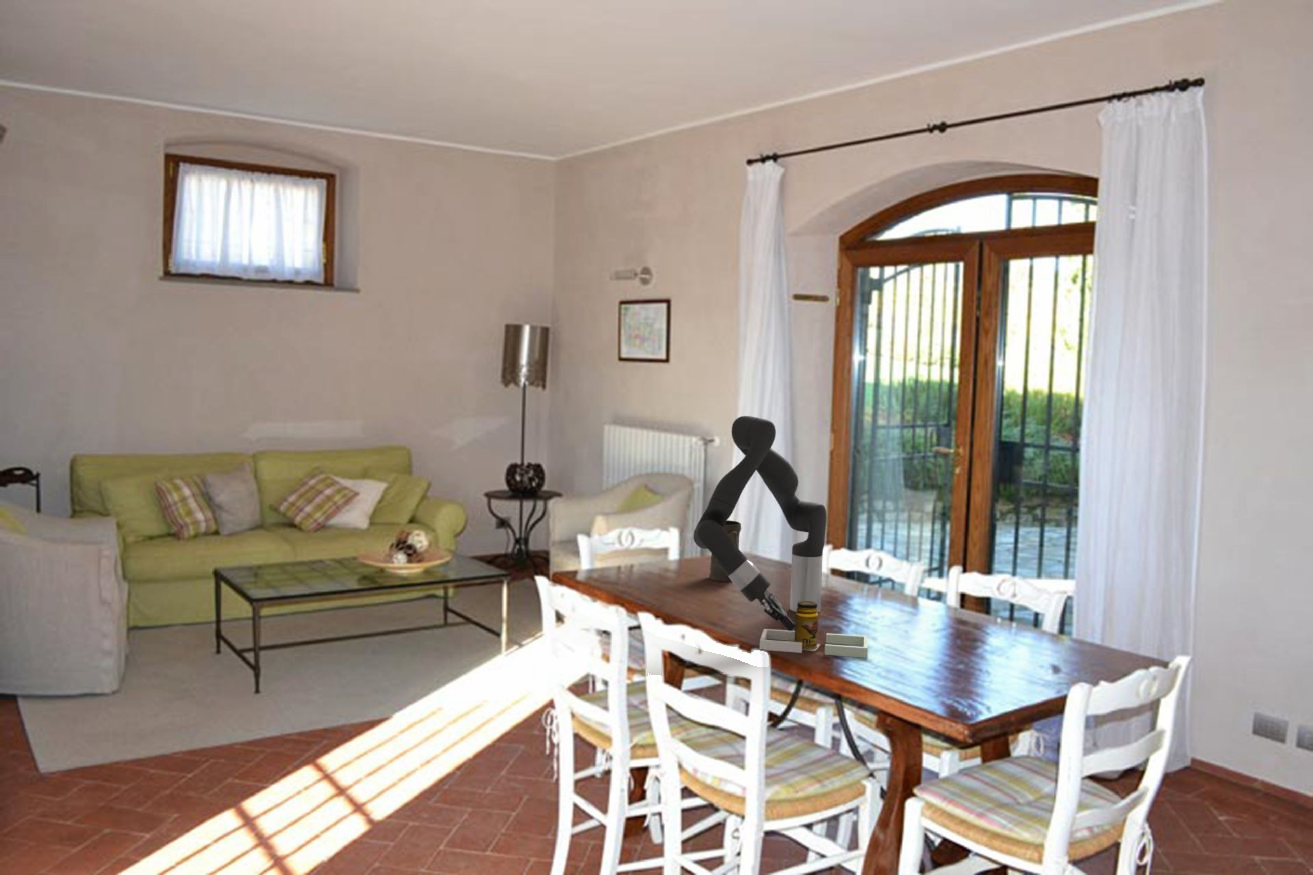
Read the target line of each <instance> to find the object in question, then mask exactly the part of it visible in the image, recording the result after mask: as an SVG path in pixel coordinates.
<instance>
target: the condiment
mask: <svg viewBox="0 0 1313 875" xmlns="http://www.w3.org/2000/svg"><path fill="white" fill-rule="evenodd" d="M797 606H798V607H797V612H795V617H794V618H795V619H794V620H795V622H794V623H795V628H794V631H795V641H794V640H790V641H789V640H788V641H789V642H802V651H810V652H816V651H817V650H818V649H819V647H820V646H821V643H818V630H819V628H818V626H819V614H818V613H819V612H817V604H816V603H815V602H811V601H800V602H798V604H797Z"/></svg>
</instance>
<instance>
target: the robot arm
mask: <svg viewBox="0 0 1313 875" xmlns="http://www.w3.org/2000/svg"><path fill="white" fill-rule="evenodd" d="M776 434H777V431H776V426H775V424H774V422H772V421H771V420H769V419H765V418H760V417H756V416H750V415H743V416H739V417H737V418H735V420H734V421H733V422H732V426H731V438H732V440H733V442H734V445H735V446H736V447H737V448H738V449H739V450H740V451H741V453H742V454H743V455H744V457H743V458H742V460H740V462H739V463H738V464H737V465H736V466H734V467H733V468H732V469H730V470H729V471H728V472H727V473H726V474H725V475H724V476H723V477H722V478H721V479H720V480H719V482H718V483H717V485H716V486H715V489H714V491H713V493H712V495H711V497H710V498H709V501H708V504H707V507H706V509H705V510H704V513H703V514H702V515H701V517H700V519H699V521H698V522H697V524H696V526H695V528H694V532H693V541H694V543H695V545H696V546H697V547H699V548H701V549H702V550H703V549H704V550H708V551H709V552H710V553H711V554H713V555H714V557H715V558H716V562H717V564H718V565H719V567H720V568H721V569H722V570H723V571H724V572H725V573H726V574H727V576H728V577H729V578H730V579H731V581H732V582H731V583H732V584H733V585H734V586H735V587H736V588H737V589H738V590H739V592H740V593H742V595H743V596H744V598H746V600H748V601H749V602H750V603H751V602H754V601H755V600H758V601H759V603H760V604H759V605H760V607H762V609H763V611H764V613H766V615H768V616H770V617H771V618H772V619H773V620H774V621H776V622H780V623H781V624H782V625H783V627H785V628H786V630H788V631H793V630H795V622H794V621H793V620H792V619H791V618H790V617H789V616H788V613H787V612H786V608H785V607H784V605H783V604H782V603H781V601H780V600H779V599H778V597H777V595H775V594H774V593H772V592H770V591H769V590H768V589H769V588H770V586H771V581H770V580H769V579H768V578H767V577H766V576H765V574H763V573H762V571H760V569H759V568H757V566H756V565H755V564H754V563H753V562H751V561H750V560H749V559H748V558H747V557H746V556H745V554H744V553H743V552H742V550H740V548H739V549H738V548H737V547H736V546H735V545H734V543H733V541H732V540H731V538H730V537H729V535H728V534H727V533H726V531H725V530H724V529H723V527H724V525H725V523H726V521H727V520H729V519H730V517H731V515H732V514H733V512H734V511H735V508H736V506H737V503H738V501H739V499H740V498H741V495H742V493H743V492H744V489H745V488H746V486H747V484H748V482H749V481H750V480H751V478H752V477H753V475H754V474H755V473H756V472H757V474H759V476H760V478H761V479H762V481H763V483H764V484H765V486H766V487H767V488H768V490H769V491H770V494H771V495H773V497H774V498H775V501H776V502H777V504H778V506H779V507H780V509H781V511H782V514H783V515H784V517H785V520H786V522H787V524H788V525H789V527H790V528H791V529H793V530H794V531H796V532H802V533H808V534H807V539H806V540H804V541H800V542H797V543H794V544H793V545H792V547H791V548H792V549H791V572H790V573H791V574H790V575H791V577H790V595H789V596H790V598H789V599H790V601H789V602H790V603H789V610H790V611H792V612H793V613H794V612H795V613H796V612H797V607H798V606H797V604H798V602H800V601H811V602H815V603H816V604H817V613H819V612H821V605H822V582H823V581H822V580H823V579H822V578H823V553H824V547H825V540H826V530H827V519H828V517H827V514H828V513H827V509H826V507H825V505H824V504H823V503H819V502H813V501H805V500H801V499H799V497H797V496H796V493H797V490H798V487H799V476H798V474H797V472H796V471H795V470H794V468H793V466H792V465H791V463H790V462H789V461H788V459H786V458H785V457H784V456H783V455H781V454H780V453H779V452H778V451H776V450H774V448H772V447H773V444H774V442H775V440H776Z"/></svg>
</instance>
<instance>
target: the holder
mask: <svg viewBox="0 0 1313 875" xmlns="http://www.w3.org/2000/svg"><path fill="white" fill-rule="evenodd" d="M790 640H794V641H795V630H791V631H788V629H786V630H785V629H772V628H764V629H763V631H762V633H761V636H760V639H759V650H760V649H764V650H763V651H771V652H772V651H774V652H775V651H776V652H785V653H800V654H802V653H803V652H802V651H803V650H802V642H789V641H790Z"/></svg>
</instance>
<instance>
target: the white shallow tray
mask: <svg viewBox="0 0 1313 875" xmlns="http://www.w3.org/2000/svg"><path fill="white" fill-rule="evenodd" d="M825 635H826V638H825V639H826V640H825V644H824V655H825V656H826V655H827V656H840V657H852V658H853V657H855V658H863V659H864V658H865V659H866V658H868V657H869V656H868V655H869V648H868V647H869V644H868V643H869V642H868V641H869V640H868V639H869V637H868V635H856V634H841V633H828V632H827V633H826V634H825Z"/></svg>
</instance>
